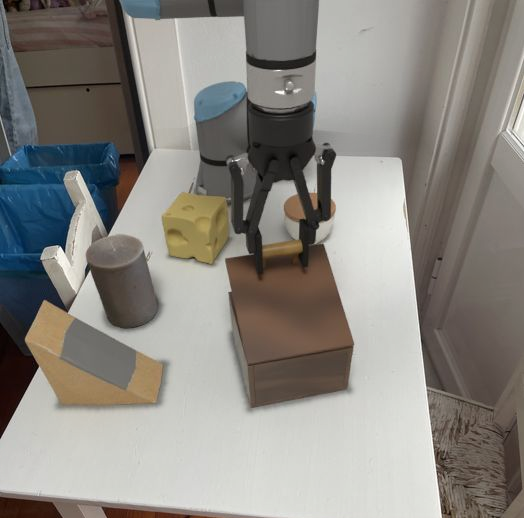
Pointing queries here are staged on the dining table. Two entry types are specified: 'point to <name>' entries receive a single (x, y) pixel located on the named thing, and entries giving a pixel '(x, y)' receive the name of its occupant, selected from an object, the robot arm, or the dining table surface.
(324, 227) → the trinket box
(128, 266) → the pillar candle
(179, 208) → the cheese
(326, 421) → the dining table surface
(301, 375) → the bread box
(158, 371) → the sandwich container
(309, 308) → the lid
